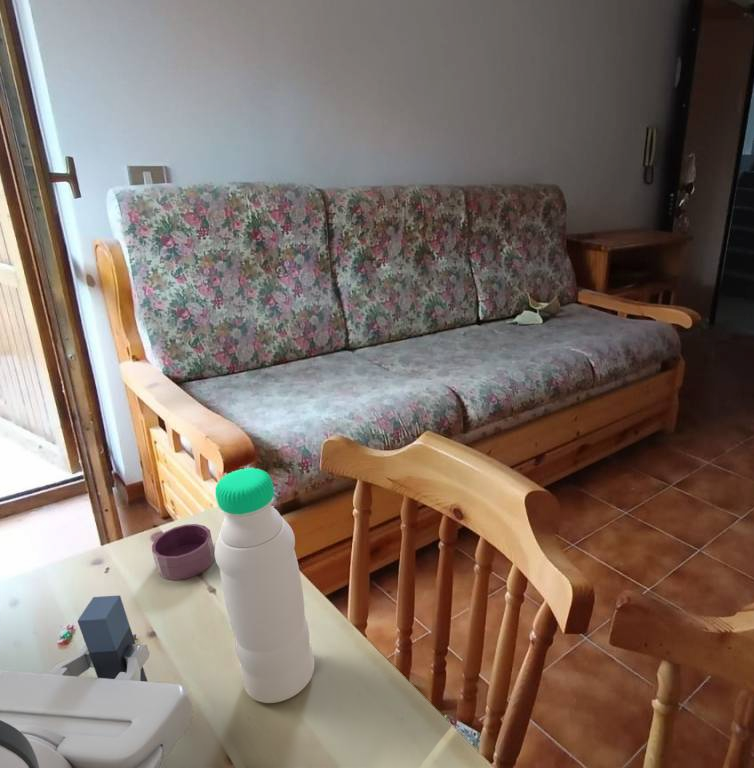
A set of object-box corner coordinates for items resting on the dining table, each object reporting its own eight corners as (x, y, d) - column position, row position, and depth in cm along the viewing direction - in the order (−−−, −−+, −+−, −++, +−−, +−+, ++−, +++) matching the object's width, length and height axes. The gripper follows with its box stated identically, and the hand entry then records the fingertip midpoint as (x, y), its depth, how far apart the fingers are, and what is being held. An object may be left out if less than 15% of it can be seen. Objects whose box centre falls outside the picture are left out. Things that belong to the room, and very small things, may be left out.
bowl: (149, 581, 79) (142, 559, 77) (169, 546, 85) (164, 525, 83) (205, 578, 80) (200, 556, 78) (222, 543, 86) (217, 522, 84)
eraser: (112, 719, 62) (76, 620, 56) (126, 693, 64) (93, 596, 59) (138, 717, 62) (105, 619, 56) (150, 691, 65) (120, 594, 59)
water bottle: (275, 719, 62) (233, 512, 52) (230, 685, 65) (182, 485, 55) (329, 669, 68) (301, 472, 57) (284, 640, 71) (250, 450, 60)
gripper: (127, 775, 47) (219, 630, 59) (-133, 753, 48) (11, 616, 60) (146, 826, 49) (230, 677, 62) (-100, 805, 50) (31, 663, 63)
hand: (120, 647), depth 61 cm, fingers closed on eraser, 3 cm apart
